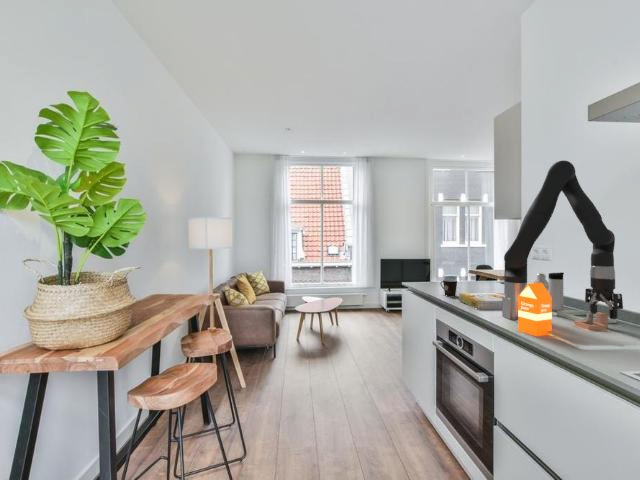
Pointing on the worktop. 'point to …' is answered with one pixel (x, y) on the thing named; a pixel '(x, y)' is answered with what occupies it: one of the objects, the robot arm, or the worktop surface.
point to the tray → (571, 314)
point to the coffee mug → (449, 287)
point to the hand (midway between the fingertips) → (603, 316)
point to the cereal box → (482, 300)
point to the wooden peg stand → (589, 323)
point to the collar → (598, 325)
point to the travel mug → (556, 290)
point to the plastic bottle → (542, 280)
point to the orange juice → (535, 310)
